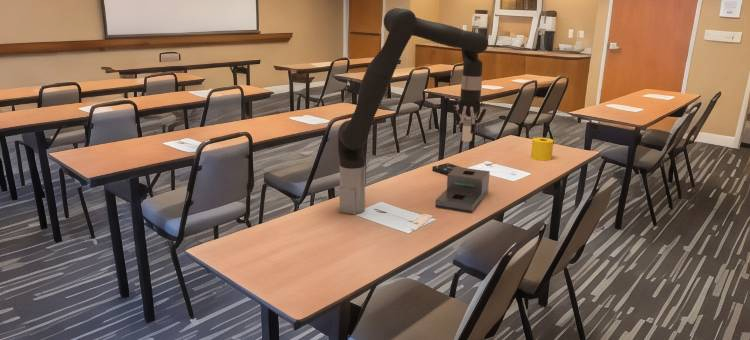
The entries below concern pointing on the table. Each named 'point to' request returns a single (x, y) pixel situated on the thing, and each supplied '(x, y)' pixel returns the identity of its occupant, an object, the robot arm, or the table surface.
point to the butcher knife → (421, 221)
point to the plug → (467, 130)
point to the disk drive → (444, 168)
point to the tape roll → (542, 149)
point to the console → (464, 189)
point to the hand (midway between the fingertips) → (467, 132)
